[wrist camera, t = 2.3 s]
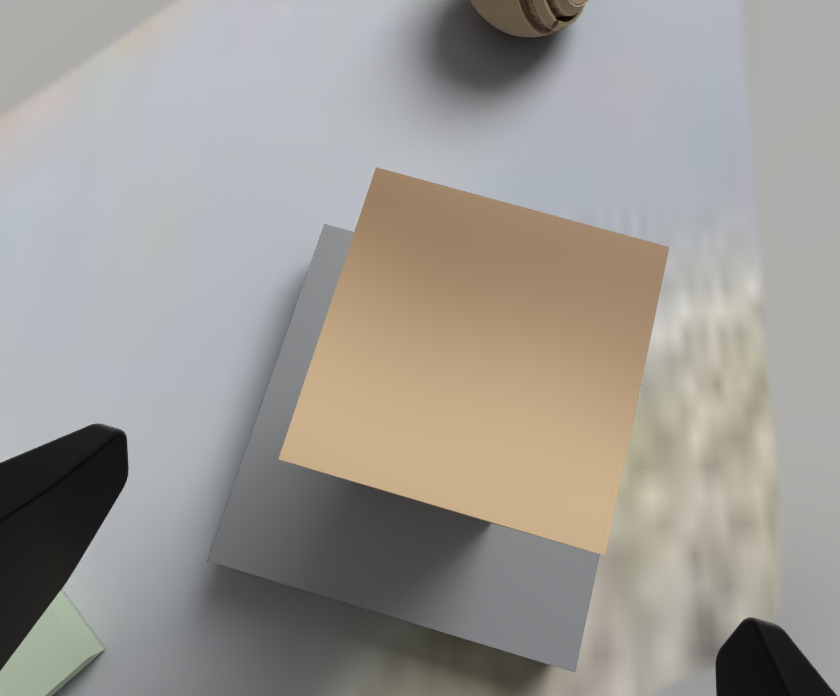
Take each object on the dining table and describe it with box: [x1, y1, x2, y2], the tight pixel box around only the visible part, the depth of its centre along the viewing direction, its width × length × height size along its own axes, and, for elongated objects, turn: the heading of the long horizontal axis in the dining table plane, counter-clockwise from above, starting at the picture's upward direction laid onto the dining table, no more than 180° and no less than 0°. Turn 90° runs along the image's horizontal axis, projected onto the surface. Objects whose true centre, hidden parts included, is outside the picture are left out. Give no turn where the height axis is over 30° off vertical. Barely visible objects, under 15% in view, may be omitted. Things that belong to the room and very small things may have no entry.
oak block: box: [279, 168, 669, 555], centre depth 13 cm, size 4×4×10 cm
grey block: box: [207, 224, 600, 672], centre depth 19 cm, size 10×10×2 cm
